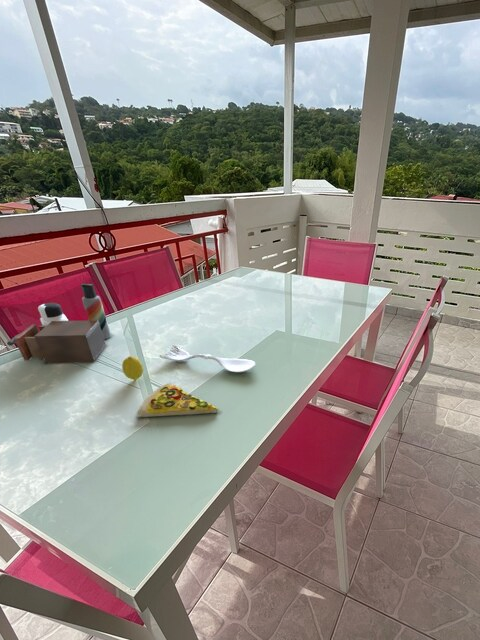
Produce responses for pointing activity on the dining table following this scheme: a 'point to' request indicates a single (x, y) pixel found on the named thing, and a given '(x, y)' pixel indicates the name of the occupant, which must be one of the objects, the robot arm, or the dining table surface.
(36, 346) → the drawer
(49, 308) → the container
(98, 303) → the lotion bottle
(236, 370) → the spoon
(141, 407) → the pizza slice
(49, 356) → the cabinet
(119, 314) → the dining table surface
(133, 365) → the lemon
